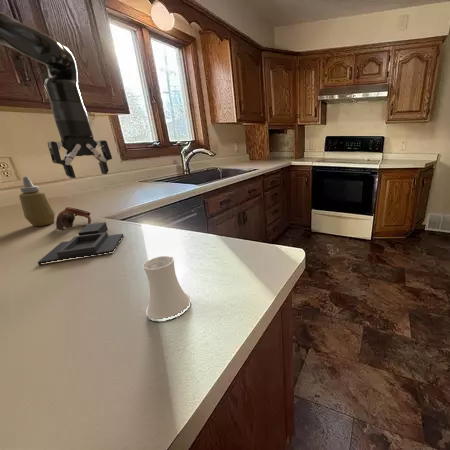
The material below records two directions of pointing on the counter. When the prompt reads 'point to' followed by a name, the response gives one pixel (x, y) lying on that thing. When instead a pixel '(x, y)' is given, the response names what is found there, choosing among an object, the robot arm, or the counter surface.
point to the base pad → (83, 247)
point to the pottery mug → (70, 217)
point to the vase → (164, 289)
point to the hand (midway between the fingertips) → (89, 175)
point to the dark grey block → (94, 229)
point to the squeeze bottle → (35, 205)
